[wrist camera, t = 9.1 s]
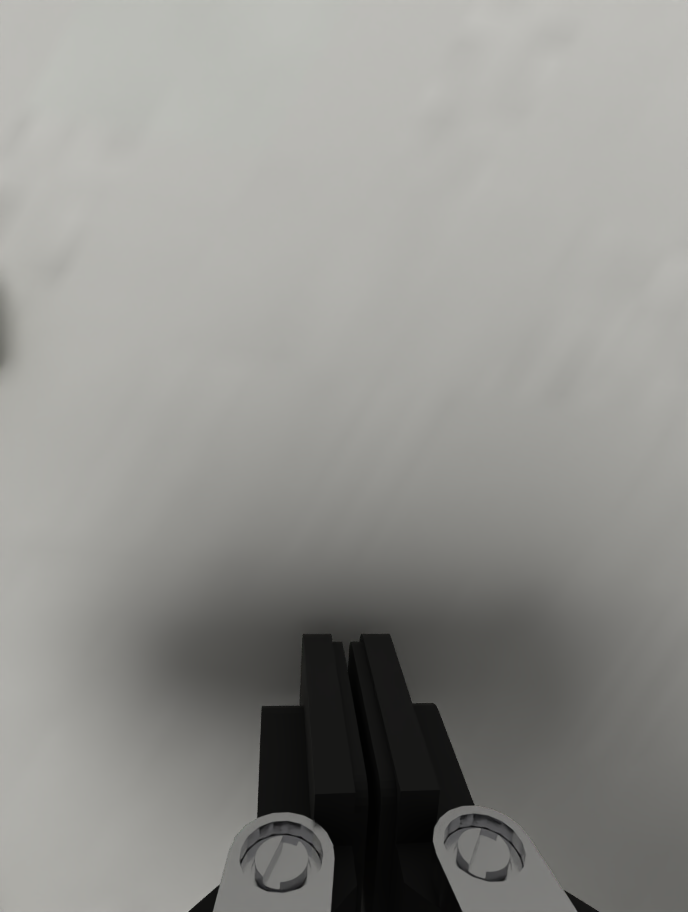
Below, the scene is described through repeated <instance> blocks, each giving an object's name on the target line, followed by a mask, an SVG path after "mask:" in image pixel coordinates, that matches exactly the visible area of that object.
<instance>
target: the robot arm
mask: <svg viewBox="0 0 688 912" xmlns="http://www.w3.org/2000/svg"><path fill="white" fill-rule="evenodd" d="M189 912H599V911H597V910H595V909H594V908H592V907H591V906H589V905H587V904H586V903H584V902H583V901H581V900H579V899H578V898H576V897H574V896H573V895H571V894H570V893H568V892H566V891H565V890H563V888H562V887H561V885H560V884H559V882H558V881H557V879H556V877H555V876H554V874H553V873H552V871H551V870H550V868H549V866H548V865H547V863H546V862H545V860H544V859H543V857H542V855H541V854H540V852H539V851H538V849H537V848H536V846H535V844H534V843H533V841H532V840H531V838H530V837H529V836H528V834H527V833H526V832H525V831H524V830H523V828H522V827H521V826H520V825H519V824H518V823H516V822H515V821H514V820H512V819H511V818H510V817H508V816H507V815H505V814H503V813H500V812H498V811H496V810H494V809H491V808H486V807H481V806H474V803H473V800H472V798H471V795H470V792H469V790H468V787H467V784H466V782H465V779H464V777H463V774H462V771H461V769H460V766H459V763H458V761H457V758H456V755H455V753H454V750H453V748H452V745H451V742H450V740H449V737H448V734H447V732H446V729H445V727H444V724H443V721H442V719H441V716H440V713H439V711H438V709H437V707H436V705H435V704H433V703H415V704H412V701H411V698H410V695H409V692H408V689H407V686H406V683H405V679H404V676H403V673H402V670H401V667H400V664H399V661H398V658H397V655H396V652H395V648H394V645H393V642H392V639H391V636H390V634H361V636H360V641H359V642H350V646H349V661H348V670H347V665H346V659H345V654H344V648H343V643H342V642H332V636H331V634H303V638H302V660H301V685H300V706H262V713H261V738H260V763H259V787H258V812H257V819H255V820H254V821H252V822H250V823H249V824H247V825H245V827H244V828H243V829H242V830H241V831H240V832H239V833H238V834H237V835H236V836H235V838H234V840H233V843H232V845H231V847H230V849H229V853H228V856H227V860H226V864H225V868H224V871H223V875H222V879H221V883H220V885H219V886H217V887H216V888H215V889H214V890H213V891H212V892H211V893H209V894H208V895H207V896H206V897H205V898H204V899H202V900H201V901H200V902H199V903H198V904H197V905H195V906H194V907H193V908H192V909H191V910H190V911H189Z"/></svg>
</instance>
